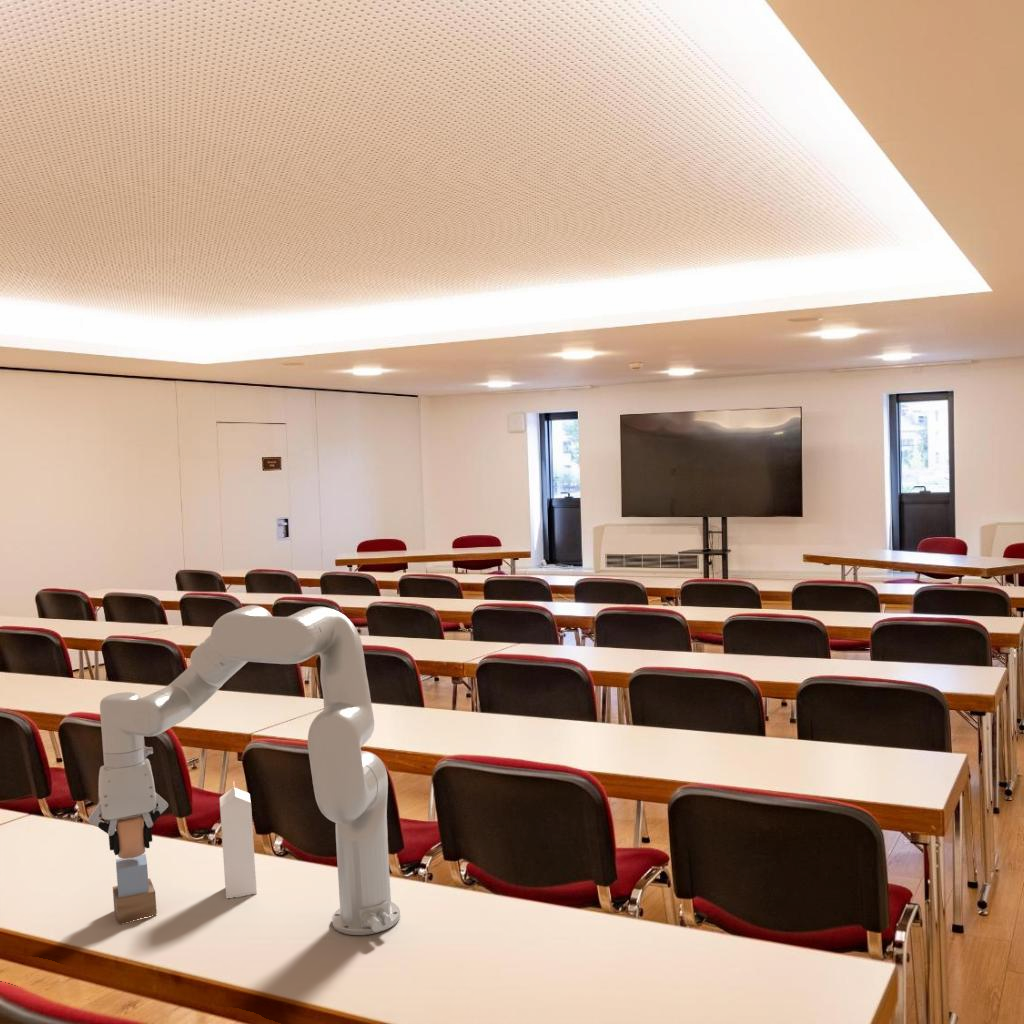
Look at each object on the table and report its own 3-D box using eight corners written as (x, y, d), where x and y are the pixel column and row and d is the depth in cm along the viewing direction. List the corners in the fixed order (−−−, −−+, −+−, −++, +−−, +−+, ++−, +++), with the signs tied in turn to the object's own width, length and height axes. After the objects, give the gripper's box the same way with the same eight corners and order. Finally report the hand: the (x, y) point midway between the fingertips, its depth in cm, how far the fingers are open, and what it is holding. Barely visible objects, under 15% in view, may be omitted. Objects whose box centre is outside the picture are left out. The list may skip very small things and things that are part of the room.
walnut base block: (156, 916, 193) (155, 891, 193) (118, 925, 190) (116, 900, 189) (151, 902, 199) (150, 878, 199) (114, 911, 196) (112, 886, 196)
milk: (255, 882, 206) (249, 777, 205) (256, 894, 200) (250, 786, 199) (224, 887, 204) (218, 781, 203) (225, 899, 199) (219, 791, 197)
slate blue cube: (149, 891, 193) (147, 864, 192) (118, 897, 190) (116, 869, 190) (147, 881, 198) (145, 854, 197) (117, 886, 195) (115, 859, 195)
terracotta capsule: (147, 854, 193) (144, 819, 192) (119, 860, 191) (117, 824, 190) (143, 846, 197) (140, 811, 197) (116, 852, 195) (113, 817, 195)
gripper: (167, 745, 200) (173, 833, 201) (75, 761, 192) (82, 853, 193) (173, 754, 194) (180, 845, 195) (78, 771, 185) (86, 866, 187)
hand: (131, 848), depth 194 cm, fingers closed on terracotta capsule, 5 cm apart
